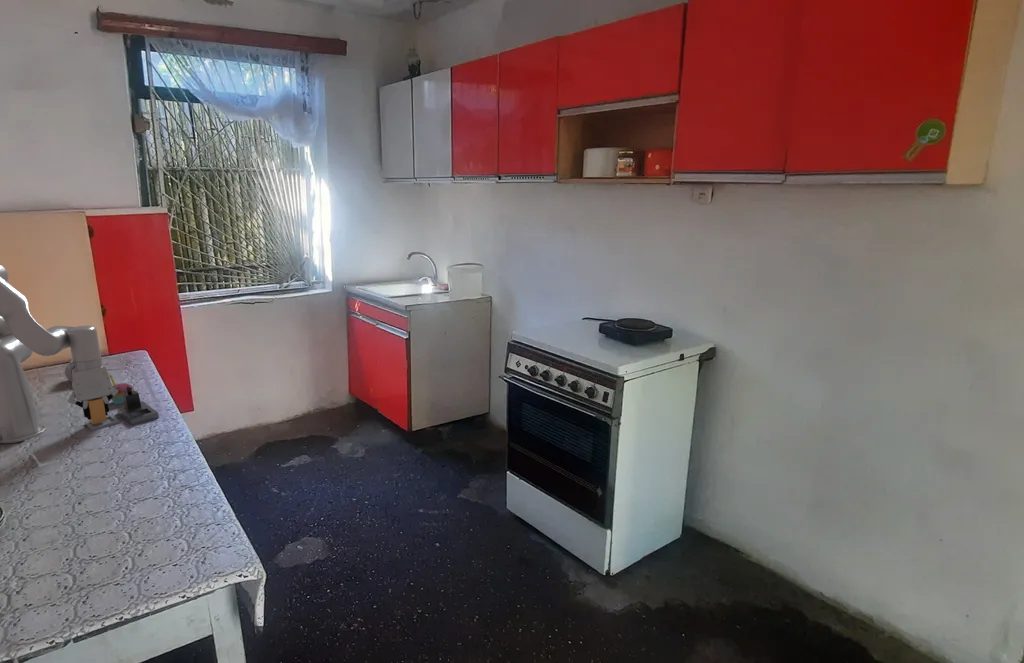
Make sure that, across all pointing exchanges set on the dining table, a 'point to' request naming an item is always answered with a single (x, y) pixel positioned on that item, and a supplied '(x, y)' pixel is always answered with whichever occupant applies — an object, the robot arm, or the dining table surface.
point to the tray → (103, 423)
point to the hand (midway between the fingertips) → (97, 415)
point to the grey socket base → (135, 408)
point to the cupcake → (121, 388)
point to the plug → (97, 410)
